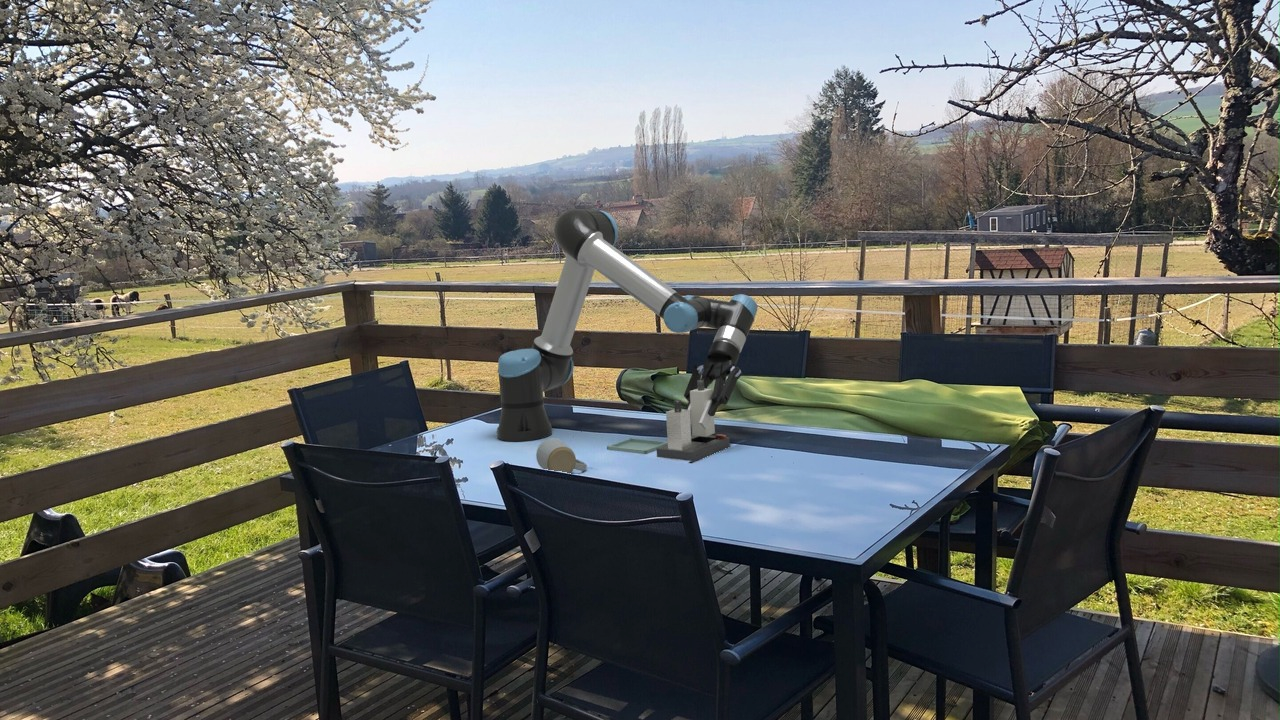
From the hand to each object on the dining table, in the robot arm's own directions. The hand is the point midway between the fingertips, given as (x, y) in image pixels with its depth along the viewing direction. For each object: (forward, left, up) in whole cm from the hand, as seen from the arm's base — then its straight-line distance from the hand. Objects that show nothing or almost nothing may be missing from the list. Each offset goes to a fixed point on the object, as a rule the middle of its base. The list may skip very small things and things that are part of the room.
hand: (694, 425), depth 215 cm
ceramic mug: (-18, -28, -7) cm, 34 cm away
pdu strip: (0, 0, -7) cm, 7 cm away
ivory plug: (0, +4, -3) cm, 5 cm away
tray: (-15, -3, -7) cm, 17 cm away
